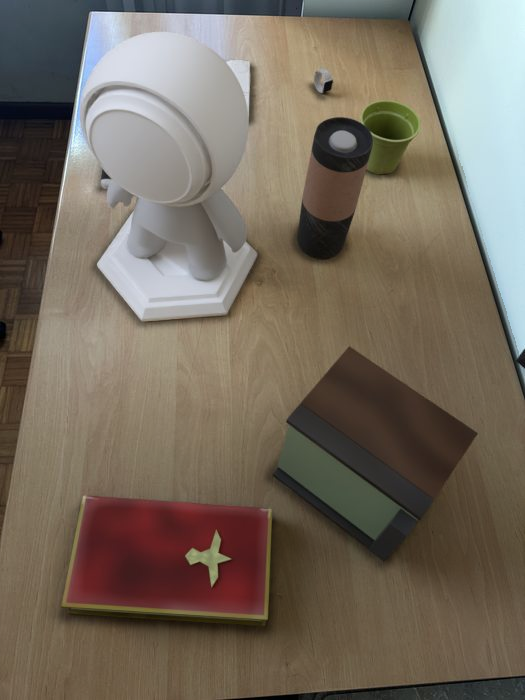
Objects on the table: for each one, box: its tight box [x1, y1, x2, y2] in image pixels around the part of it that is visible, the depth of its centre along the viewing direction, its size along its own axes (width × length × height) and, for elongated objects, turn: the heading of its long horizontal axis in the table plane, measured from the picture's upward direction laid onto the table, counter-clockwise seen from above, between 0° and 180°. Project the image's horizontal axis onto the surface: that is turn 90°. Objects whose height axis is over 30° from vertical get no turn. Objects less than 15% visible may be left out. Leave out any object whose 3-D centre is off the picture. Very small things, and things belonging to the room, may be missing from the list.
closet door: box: [277, 424, 419, 562], centre depth 71 cm, size 3×16×14 cm, turn 52°
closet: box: [272, 345, 479, 550], centre depth 74 cm, size 11×16×16 cm
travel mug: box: [296, 116, 373, 260], centre depth 92 cm, size 8×8×20 cm
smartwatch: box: [313, 68, 334, 94], centre depth 117 cm, size 4×2×4 cm, turn 32°
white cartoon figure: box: [79, 31, 258, 322], centre depth 81 cm, size 20×23×35 cm
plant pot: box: [359, 99, 422, 175], centre depth 106 cm, size 9×9×9 cm
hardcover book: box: [61, 494, 273, 627], centre depth 72 cm, size 12×21×4 cm, turn 87°
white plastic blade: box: [225, 59, 251, 120], centre depth 116 cm, size 5×15×1 cm, turn 179°
